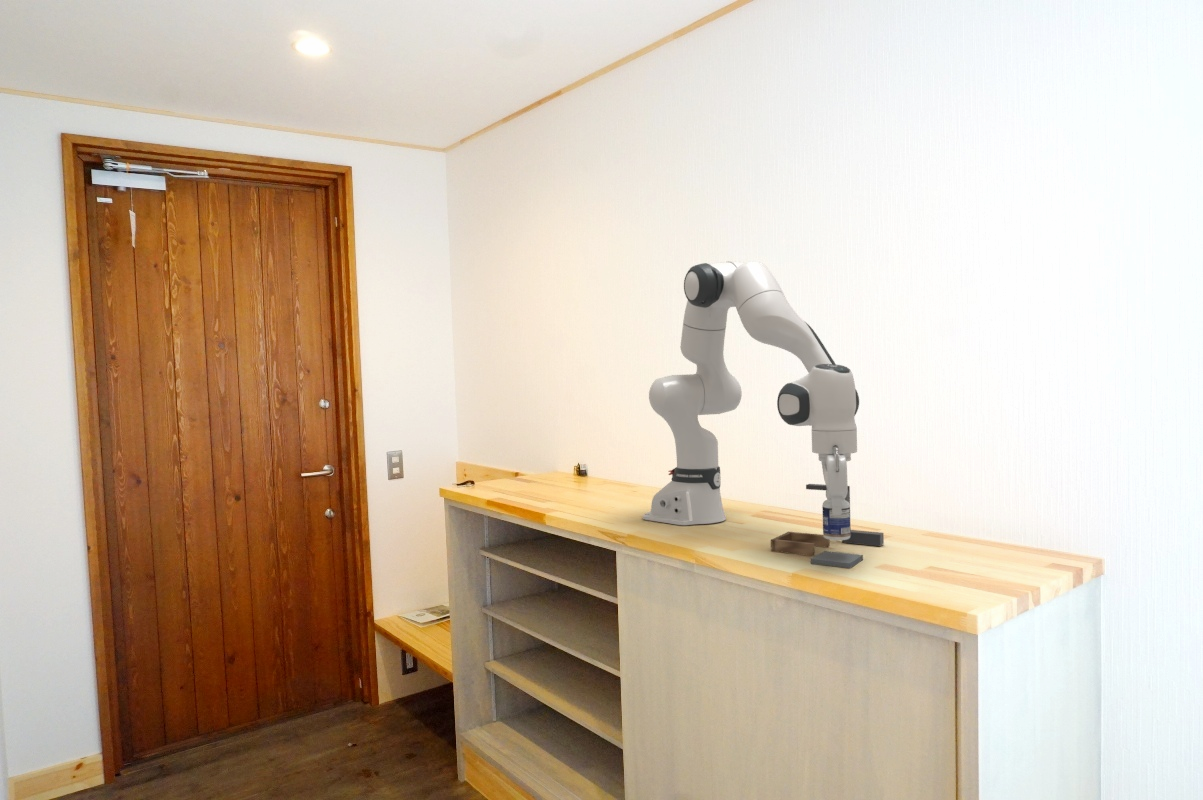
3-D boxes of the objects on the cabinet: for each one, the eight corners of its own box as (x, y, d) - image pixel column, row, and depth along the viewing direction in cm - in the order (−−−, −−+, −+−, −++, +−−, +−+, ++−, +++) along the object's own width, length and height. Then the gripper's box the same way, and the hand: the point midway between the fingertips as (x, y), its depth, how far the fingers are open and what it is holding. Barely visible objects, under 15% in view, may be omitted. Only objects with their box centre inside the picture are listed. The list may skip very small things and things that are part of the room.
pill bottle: (822, 535, 163) (821, 488, 162) (849, 535, 161) (848, 488, 161) (823, 540, 157) (822, 492, 157) (851, 541, 156) (850, 492, 156)
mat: (810, 563, 159) (810, 558, 159) (824, 555, 165) (824, 550, 165) (850, 568, 154) (850, 563, 154) (863, 559, 160) (862, 555, 160)
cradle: (771, 551, 171) (770, 539, 171) (788, 542, 179) (788, 531, 179) (813, 556, 165) (812, 544, 165) (829, 546, 173) (829, 535, 173)
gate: (806, 538, 181) (805, 485, 181) (810, 536, 183) (809, 483, 183) (880, 546, 171) (879, 489, 171) (883, 543, 173) (882, 487, 173)
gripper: (854, 448, 148) (856, 521, 148) (847, 439, 168) (848, 503, 168) (819, 449, 149) (821, 520, 150) (816, 439, 169) (818, 503, 170)
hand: (835, 511), depth 159 cm, fingers closed on pill bottle, 5 cm apart
